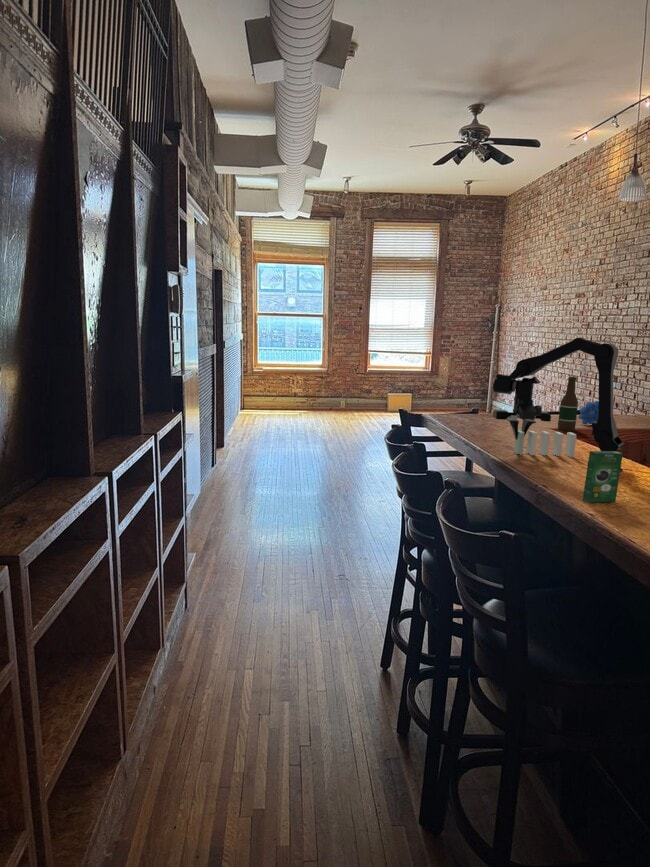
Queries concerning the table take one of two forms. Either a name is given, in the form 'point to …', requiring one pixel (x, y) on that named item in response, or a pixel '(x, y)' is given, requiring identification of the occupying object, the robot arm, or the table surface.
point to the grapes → (589, 412)
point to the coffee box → (602, 476)
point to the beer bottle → (568, 407)
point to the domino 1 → (519, 443)
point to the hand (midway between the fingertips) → (519, 439)
